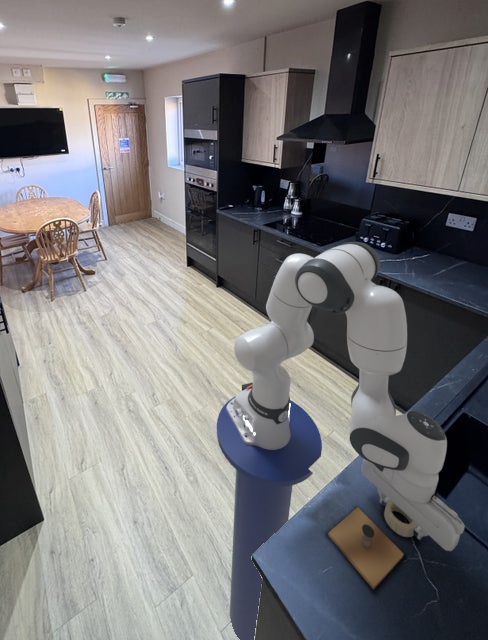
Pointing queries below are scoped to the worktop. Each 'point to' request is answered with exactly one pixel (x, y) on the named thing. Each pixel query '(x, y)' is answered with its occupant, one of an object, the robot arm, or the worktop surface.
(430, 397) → the worktop surface
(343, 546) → the peg stand
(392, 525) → the tape roll
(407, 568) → the worktop surface
